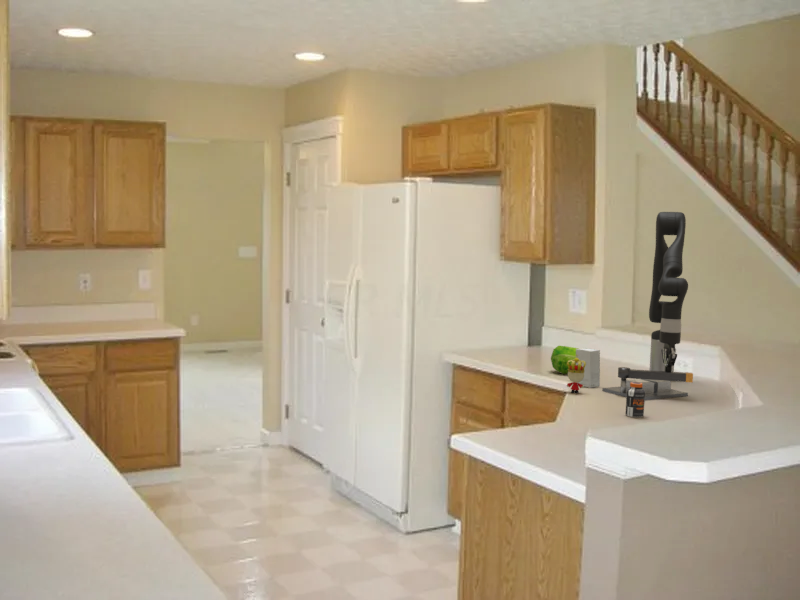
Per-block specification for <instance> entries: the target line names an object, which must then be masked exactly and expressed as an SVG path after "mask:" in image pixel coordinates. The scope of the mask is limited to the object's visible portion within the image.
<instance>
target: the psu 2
mask: <svg viewBox="0 0 800 600" xmlns="http://www.w3.org/2000/svg"><path fill="white" fill-rule="evenodd" d="M641 380H646V381H650V382H654V391H655V392H665V391H671V389H672V381H664V380H649V379H641Z"/></svg>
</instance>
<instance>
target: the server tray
mask: <svg viewBox="0 0 800 600" xmlns="http://www.w3.org/2000/svg"><path fill="white" fill-rule="evenodd" d="M626 380H627V378H620V386H610V387H602V391H601V392H605V393H608V394H613V395H617V396H621V397H623V398H624V397H625V398H627V390H626ZM688 395H689V392H685V391H681V390H677V389H672V388H671V391H665V392H655V391H654V393H645V401H651V400H660V399H661V400H662V399H670V398H671V399H672V398H680V397H688Z"/></svg>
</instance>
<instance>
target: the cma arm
mask: <svg viewBox="0 0 800 600" xmlns="http://www.w3.org/2000/svg"><path fill="white" fill-rule="evenodd" d="M617 378H620V379H621V378H626V379H649V380H664V381H671V382H683V383H684V382H685V383H691V384H692V383H693V380H694V379H693V378H694V373H693V372H688V371H687V372H681V371H674V372H667V371H651V370H647V369H635V368H634V369H632V368H630V367H625V366H621V367H619V366H618V368H617Z"/></svg>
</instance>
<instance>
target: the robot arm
mask: <svg viewBox="0 0 800 600" xmlns="http://www.w3.org/2000/svg"><path fill="white" fill-rule="evenodd" d="M655 221H656V222H655V250H654V258H653V266H652V286H651V295H650V301H649V303H650V304H649V308H648V309H649V310H648V318H649V320H650V322H651V323H655V324H660V328H659V329H657V330H655V331H652V333H651V339H650V355H649V357H650V358H649V370H651V371H667V372H675V363H676V361H677V358H678V354H677V349H676V345H679V344H681V336H682V311H683V310H682V309H683V304H684V300H685V297H686V295H687V293H688V290H689V282H688V280H687V279H686V278H684V277H680V276H681V275H682V274H683V252H684V245H685V244H684V243H685V235H686V227H687V226H686V224H687V223H686V221H687V220H686V215H685V213H683V212H680V211H660V212H658V213H657V215H656V220H655ZM665 236H675V239H674V240H673V242H672V243H671V244H670V246H668V243H667V242H666V240H665V239H666V238H665ZM662 296H664V297H676V299H675V300H673V301H664V300H662V301H661V300H660V299H661V297H662Z"/></svg>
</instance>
